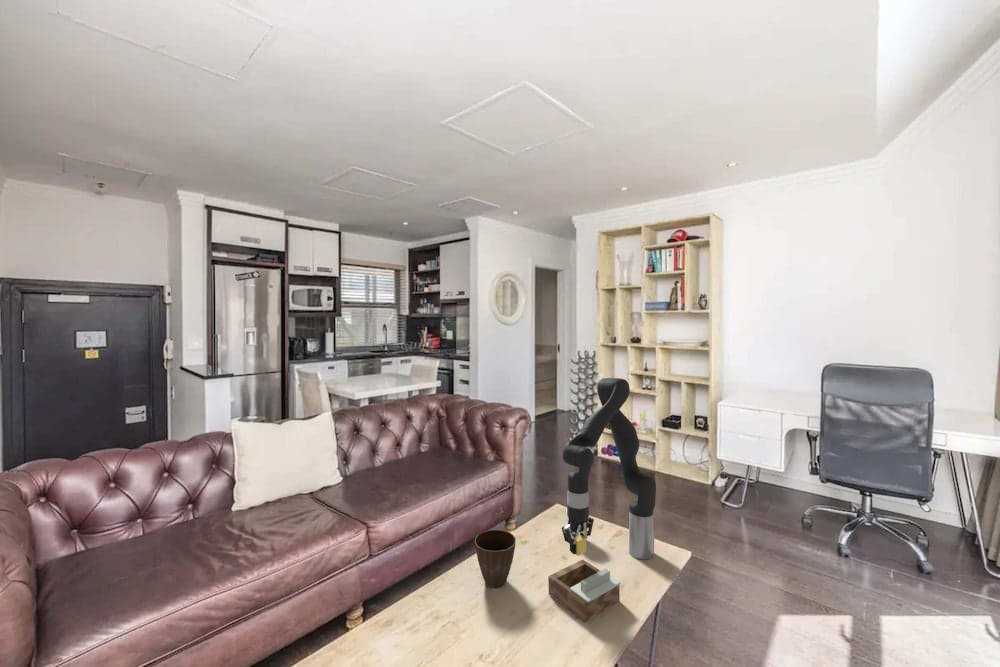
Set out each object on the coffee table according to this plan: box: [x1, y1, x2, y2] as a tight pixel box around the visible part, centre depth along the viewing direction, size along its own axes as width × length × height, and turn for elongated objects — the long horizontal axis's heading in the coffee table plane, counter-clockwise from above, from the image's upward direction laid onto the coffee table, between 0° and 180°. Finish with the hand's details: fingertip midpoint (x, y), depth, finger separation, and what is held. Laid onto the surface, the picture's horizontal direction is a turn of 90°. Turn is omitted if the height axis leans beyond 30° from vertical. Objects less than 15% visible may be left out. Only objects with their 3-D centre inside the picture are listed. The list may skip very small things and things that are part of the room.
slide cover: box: [570, 568, 622, 602], centre depth 144 cm, size 16×8×4 cm, turn 125°
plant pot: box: [474, 529, 517, 589], centre depth 158 cm, size 15×15×16 cm
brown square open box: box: [548, 559, 620, 623], centre depth 149 cm, size 17×17×6 cm
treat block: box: [572, 534, 587, 557], centre depth 150 cm, size 4×4×5 cm
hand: (578, 550), depth 150 cm, fingers closed on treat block, 4 cm apart
